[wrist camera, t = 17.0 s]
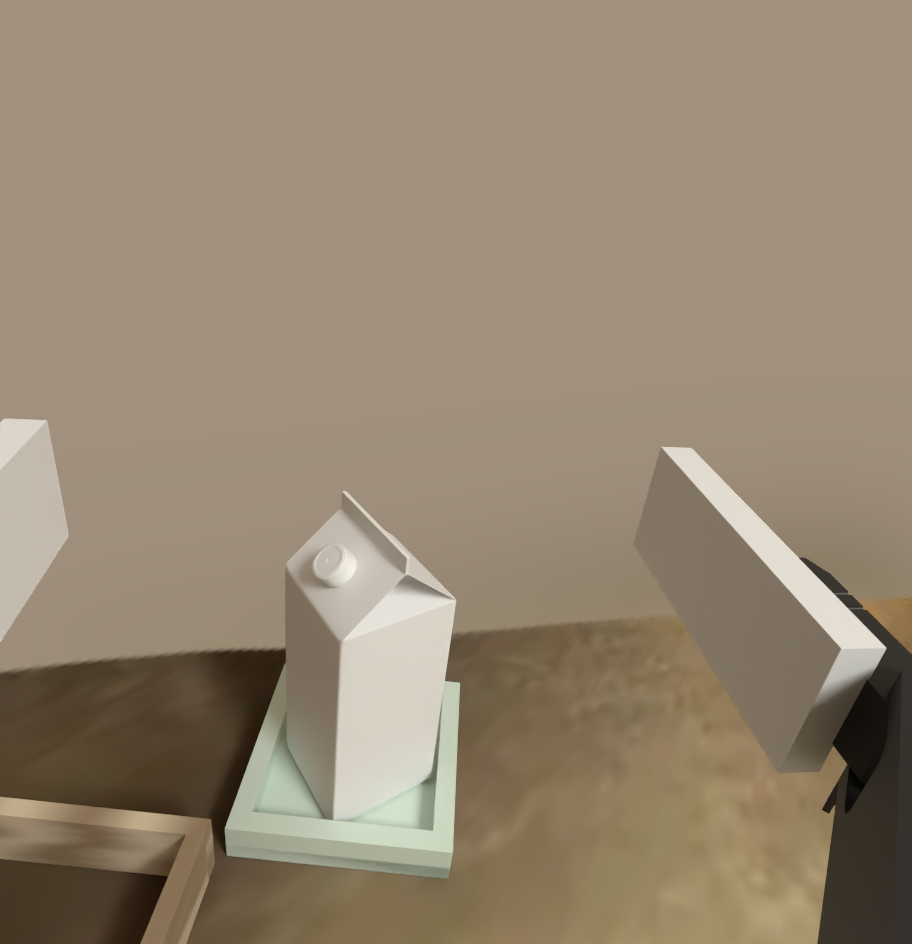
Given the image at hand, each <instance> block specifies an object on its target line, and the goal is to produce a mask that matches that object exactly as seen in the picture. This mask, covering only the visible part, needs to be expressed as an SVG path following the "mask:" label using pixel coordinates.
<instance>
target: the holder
mask: <svg viewBox="0 0 912 944" xmlns="http://www.w3.org/2000/svg"><path fill="white" fill-rule="evenodd" d="M0 859H6V860H16V861H26V862H35V863H45V864H54V865H64V866H74V867H83V868H93V869H102V870H112V871H122V872H131V873H141V874H151V875H160V876H168V878H167V881H166V883H165V886H164V888H163V890H162V893H161V895H160V898H159V900H158V902H157V905H156V907H155V910H154V912H153V915H152V917H151V919H150V922H149V924H148V927H147V929H146V931H145V934H144V936H143V939H142V941H141V943H140V944H186V943H187V940H188V937H189V934H190V932H191V929H192V926H193V923H194V921H195V918H196V915H197V912H198V909H199V907H200V904H201V901H202V898H203V896H204V893H205V890H206V887H207V884H208V882H209V879H210V876H211V873H212V871H213V868H214V865H215V856H214V845H213V834H212V824H211V819H204V818H195V817H186V816H176V815H167V814H157V813H148V812H138V811H129V810H119V809H110V808H101V807H91V806H82V805H72V804H63V803H53V802H44V801H34V800H25V799H16V798H6V797H0Z"/></svg>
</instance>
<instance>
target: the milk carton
mask: <svg viewBox="0 0 912 944" xmlns="http://www.w3.org/2000/svg"><path fill="white" fill-rule="evenodd" d="M285 573H286V574H285V589H286V590H285V600H286V601H285V602H286V728H287V747H288V749H289V751H290V753H291V755H292V756H293V758H294V760H295V762H296V764H297V766H298V768H299V769H300V771H301V773H302V775H303V777H304V779H305V780H306V782H307V784H308V786H309V788H310V790H311V792H312V793H313V795H314V797H315V799H316V801H317V803H318V805H319V806H320V808H321V810H322V812H323V814H324V816H325V817H326V819H327V820H336V821H345V822H347V821H349V820H351V819H353V818H355V817H356V816H358V815H360V814H362V813H364V812H366V811H368V810H370V809H372V808H374V807H376V806H378V805H380V804H381V803H383V802H385V801H387V800H389V799H391V798H393V797H395V796H397V795H399V794H401V793H402V792H404V791H406V790H408V789H410V788H412V787H414V786H416V785H418V784H420V783H422V782H423V781H425V780H427V779H429V778H431V773H432V766H433V759H434V752H435V745H436V738H437V731H438V724H439V717H440V710H441V703H442V696H443V689H444V682H445V675H446V668H447V661H448V654H449V647H450V640H451V633H452V626H453V619H454V612H455V605H456V601H457V600H456V599H455V598H454V597H453V596H452V595H451V594H450V593H449V592H448V591H447V590H446V589H445V588H444V587H443V586H442V585H441V584H440V583H439V582H438V581H437V580H436V579H435V578H434V577H433V576H432V575H431V573H429V571H428V570H426V568H424V566H423V565H422V564H421V563H420V562H419V561H418V560H417V559H416V558H415V557H414V556H413V555H412V554H411V553H410V552H409V551H408V550H407V549H406V548H405V547H404V546H403V545H402V544H401V543H400V542H399V541H398V540H397V539H396V538H395V537H394V536H393V535H392V534H390V533H388V532H387V531H385V530H383V529H382V528H381V526H380V525H378V523H377V522H376V521H375V520H374V519H373V518H372V517H371V516H370V515H369V514H368V513H367V512H366V511H365V510H364V509H363V508H362V507H361V506H360V505H359V504H358V503H357V502H356V501H355V500H354V499H353V498H352V497H351V496H350V495H349V494H348V493H347V492H346V491H342V507H341V508H340V509H339V510H338V511H337V512H336V513H335V514H334V515H333V516H332V517H331V518H330V519H329V520H328V521H327V522H326V523H325V524H324V525H323V526H322V527H321V528H320V529H319V530H318V531H317V532H316V533H315V534H314V535H313V536H312V538H310V539H309V540H308V541H307V542H306V543H305V544H304V545H303V546H302V548H301V549H300V550H299V551H298V552H297V553H296V554H295V555H294V556H293V557H292V558H291V559H290V560H289V561H288V562H287V563H286V571H285Z"/></svg>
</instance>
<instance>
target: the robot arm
mask: <svg viewBox="0 0 912 944" xmlns="http://www.w3.org/2000/svg"><path fill="white" fill-rule="evenodd" d="M68 536H69V534H68V529H67V524H66V518H65V513H64V508H63V502H62V497H61V491H60V486H59V481H58V476H57V470H56V465H55V460H54V455H53V449H52V444H51V439H50V433H49V429H48V423H47V420H25V419H24V420H23V419H4V420H3V421H2V422H1V423H0V642H1V640H2V639H3V637H4V636H5V634H6V633H7V631H8V629H9V628H10V626H11V625H12V623H13V622H14V620H15V618H16V617H17V615H18V614H19V612H20V611H21V609H22V608H23V606H24V605H25V603H26V601H27V600H28V598H29V597H30V595H31V594H32V592H33V591H34V589H35V587H36V586H37V584H38V583H39V581H40V580H41V578H42V577H43V575H44V573H45V572H46V570H47V569H48V567H49V566H50V564H51V563H52V561H53V560H54V558H55V556H56V555H57V553H58V552H59V550H60V549H61V547H62V545H63V544H64V542H65V541H66V539H67V538H68ZM633 545H634V547H635V548H636V550H637V551H638V553H639V554H640V556H641V558H642V559H643V561H644V562H645V564H646V566H647V567H648V569H649V570H650V572H651V573H652V575H653V577H654V578H655V580H656V581H657V583H658V585H659V586H660V588H661V589H662V591H663V592H664V594H665V595H666V597H667V599H668V600H669V602H670V603H671V605H672V606H673V608H674V610H675V611H676V613H677V614H678V616H679V618H680V619H681V621H682V622H683V624H684V626H685V627H686V629H687V630H688V632H689V633H690V635H691V637H692V638H693V640H694V641H695V643H696V644H697V646H698V648H699V649H700V651H701V652H702V654H703V655H704V657H705V659H706V660H707V662H708V663H709V665H710V666H711V668H712V670H713V671H714V673H715V674H716V676H717V678H718V679H719V681H720V682H721V684H722V685H723V687H724V689H725V690H726V692H727V693H728V695H729V696H730V698H731V700H732V701H733V703H734V704H735V706H736V707H737V709H738V711H739V712H740V714H741V715H742V717H743V718H744V720H745V722H746V723H747V725H748V726H749V728H750V730H751V731H752V733H753V734H754V736H755V737H756V739H757V741H758V742H759V744H760V745H761V747H762V748H763V750H764V752H765V753H766V755H767V756H768V758H769V759H770V761H771V763H772V764H773V766H774V767H775V769H776V770H777V772H778V773H794V772H815V771H820V769H821V767H822V765H823V763H824V762H825V760H826V758H827V756H828V754H829V752H830V751H831V749H832V747H833V745H834V747H835V748H836V749H837V751H838V752H839V753H840V755H841V756H842V757H843V759H844V760H845V761H846V763H847V766H846V768H845V770H844V771H843V773H842V775H841V777H840V778H839V780H838V782H837V784H836V785H835V787H834V789H833V790H832V792H831V794H830V796H829V797H828V799H827V801H826V803H825V805H824V807H823V809H822V810H823V811H825V812H827V813H830V811H831V809H832V808H833V806H834V805H836V807H835V814H834V822H833V830H832V837H831V845H830V852H829V860H828V868H827V875H826V883H825V891H824V898H823V906H822V914H821V921H820V929H819V937H818V944H912V654H911V653H910V652H909V651H908V650H907V649H906V648H905V647H904V646H903V645H902V644H901V643H899V642H898V641H897V640H896V639H895V638H894V637H893V636H892V635H891V634H890V633H889V632H888V631H887V630H886V629H885V628H884V627H883V626H882V625H881V624H880V623H879V622H878V621H877V620H876V619H875V618H874V617H873V616H872V615H871V614H870V613H869V612H868V611H867V610H863V606H862V605H861V604H860V603H859V602H858V601H857V600H856V599H855V598H854V597H853V596H852V595H848V591H847V590H846V589H845V588H844V587H843V586H842V585H841V584H840V583H839V582H838V581H837V580H836V579H835V578H834V577H833V576H832V575H831V574H830V573H828V572H826V571H825V570H823V569H822V568H820V567H818V566H817V565H816V564H814V563H812V562H811V561H809V560H808V559H806V558H798V557H797V556H796V555H795V554H794V553H793V552H792V551H791V550H790V549H789V548H788V547H787V546H786V545H785V543H783V542H782V540H780V538H779V537H778V536H777V535H776V534H775V533H774V532H773V531H772V530H771V529H770V528H769V527H768V526H767V525H766V524H765V523H764V522H763V521H762V520H761V519H760V518H759V517H758V516H757V515H756V514H755V513H754V512H753V511H752V510H751V509H750V508H749V507H748V506H747V505H746V504H745V503H744V502H743V500H742V499H741V498H740V497H739V496H738V495H737V494H736V493H735V492H734V491H733V490H732V489H731V488H730V487H729V486H728V485H727V484H726V483H725V482H724V481H723V480H722V479H721V478H720V477H719V476H718V475H717V474H716V473H715V472H714V471H713V470H712V469H711V468H710V467H709V466H708V465H707V464H706V463H705V462H704V461H703V460H702V459H701V457H700V456H698V454H697V453H696V452H695V451H694V450H693V449H692V448H676V447H661V449H660V452H659V456H658V460H657V463H656V466H655V470H654V473H653V477H652V481H651V484H650V487H649V491H648V495H647V498H646V501H645V505H644V508H643V512H642V515H641V519H640V522H639V526H638V529H637V533H636V536H635V540H634V543H633Z"/></svg>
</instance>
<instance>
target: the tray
mask: <svg viewBox="0 0 912 944" xmlns="http://www.w3.org/2000/svg"><path fill="white" fill-rule="evenodd" d="M459 692H460V683H456V682H447V681H445V682H444V689H443V696H442V703H441V710H440V717H439V724H438V731H437V738H436V745H435V752H434V759H433V766H432V773H431V778H429V779H427V780H425V781H423V782H422V783H420V784H418V785H416V786H414V787H412V788H410V789H408V790H406V791H404V792H402V793H401V794H399V795H397V796H395V797H393V798H391V799H389V800H387V801H385V802H383V803H381V804H380V805H378V806H376V807H374V808H372V809H370V810H368V811H366V812H364V813H362V814H360V815H358V816H356V817H355V818H353V819H351V820H349V821H347V822H345V821H336V820H327V819H326V817H325V816H324V814H323V812H322V810H321V808H320V806H319V805H318V803H317V801H316V799H315V797H314V795H313V793H312V792H311V790H310V788H309V786H308V784H307V782H306V780H305V779H304V777H303V775H302V773H301V771H300V769H299V768H298V766H297V764H296V762H295V760H294V758H293V756H292V755H291V753H290V751H289V749H288V747H287V728H286V664H284V667H283V670H282V672H281V675H280V678H279V681H278V683H277V686H276V689H275V692H274V694H273V697H272V700H271V703H270V705H269V708H268V711H267V714H266V716H265V719H264V722H263V725H262V727H261V730H260V733H259V736H258V738H257V741H256V744H255V747H254V749H253V752H252V755H251V758H250V760H249V763H248V766H247V769H246V771H245V774H244V777H243V780H242V782H241V785H240V788H239V791H238V793H237V796H236V799H235V802H234V804H233V807H232V810H231V813H230V815H229V818H228V821H227V824H226V826H225V840H226V852H227V856H235V857H245V858H254V859H264V860H273V861H283V862H292V863H302V864H311V865H321V866H330V867H340V868H349V869H359V870H369V871H378V872H388V873H397V874H407V875H416V876H426V877H435V878H445V879H448V876H449V870H450V865H451V859H452V854H453V834H454V810H455V786H456V763H457V739H458V716H459Z"/></svg>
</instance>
